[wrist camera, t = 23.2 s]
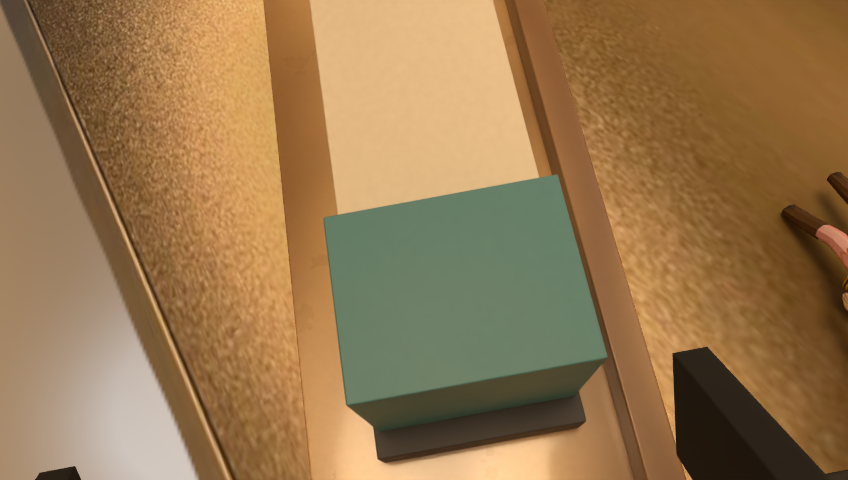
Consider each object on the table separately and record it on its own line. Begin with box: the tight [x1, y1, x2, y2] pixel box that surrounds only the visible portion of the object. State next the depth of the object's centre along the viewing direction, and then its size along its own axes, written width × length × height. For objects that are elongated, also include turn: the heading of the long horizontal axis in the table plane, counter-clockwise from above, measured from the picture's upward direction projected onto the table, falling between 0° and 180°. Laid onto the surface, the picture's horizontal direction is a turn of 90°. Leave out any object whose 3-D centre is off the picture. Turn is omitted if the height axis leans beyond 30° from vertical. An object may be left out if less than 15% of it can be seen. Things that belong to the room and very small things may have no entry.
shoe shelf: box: [263, 0, 686, 480], centre depth 33 cm, size 14×30×6 cm, turn 10°
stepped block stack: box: [309, 0, 608, 463], centre depth 28 cm, size 24×8×9 cm, turn 10°
